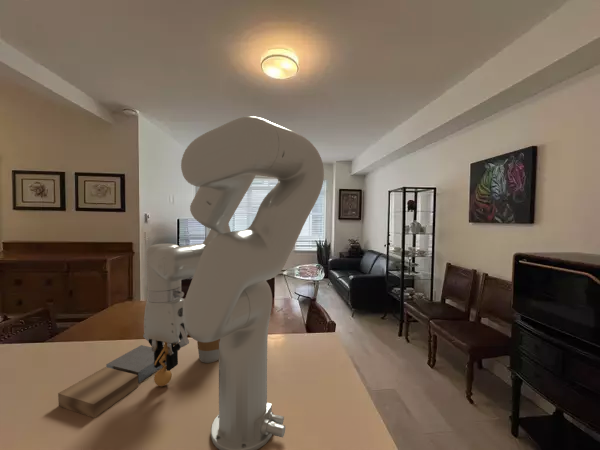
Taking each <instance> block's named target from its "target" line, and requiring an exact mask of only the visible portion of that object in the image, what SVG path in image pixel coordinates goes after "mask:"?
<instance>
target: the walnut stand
mask: <svg viewBox="0 0 600 450" xmlns="http://www.w3.org/2000/svg"><path fill="white" fill-rule="evenodd" d="M137 388H139V383H138V375H136V374H132V373H128V372H124V371H120V370H116V369H112V368H108V367H106V366H105V367H103V368H101V369H99V370H98V371H97V370H96V372H94V373H92V374H90V375H87V377H85V378H83V379H81V380H79V381H78V382H76V383H74V384H72V385H71V386H69V387H67V388H65V389H63V390H62V391H60V392H58V393H57V395H58V396H57V397H58V407H60V408H63V409H66V410H70V411H73V412H76V413H78V414H82V415H84V416H87V417H90V418H96V417H98V416H99V415H100V414H102V413H104V411H106V410H107V409H109V408H111V407H112V406H113V405H115V404H116V403H117V402H118V401H121V400H122V399H123V398H124V397H126V396H127V395H128V394H130V393H132V392H133V391H134V390H136V389H137Z"/></svg>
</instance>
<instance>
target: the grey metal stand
mask: <svg viewBox="0 0 600 450" xmlns="http://www.w3.org/2000/svg"><path fill="white" fill-rule="evenodd" d="M165 366H166V362H165ZM105 367H108V368H112V369H116V370H120V371H124V372H128V373H132V374H136V375H138V384H140V383H142V382H143V381H145V380H146V379H148V378H149V377H151V376H152V375H153V374H156V373H157V371H159V370H160V369H162V368H163V367H164V366H162V365H161V366H159V367H158V368H155V367H154V352H153V351H152V346H147V345H144V344H143V345H142V344H141V345H139V346H137V347H135V348H134V349H132V350H130V351H128V352H126V353H124V354H122V355H121V356H119V357H117V358H115V359H113V360H111V361H109V362H108V363H106V365H105Z"/></svg>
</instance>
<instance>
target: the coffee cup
mask: <svg viewBox="0 0 600 450" xmlns="http://www.w3.org/2000/svg"><path fill="white" fill-rule="evenodd" d="M196 342H197V349H198V359H199V360H200V362H202V363H204V364H205V363H206V364H207V363H208V364H209V363H214V362H216V361H219V343H220V339H218V340H216V341H213V342H199V341H196Z"/></svg>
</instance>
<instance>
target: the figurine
mask: <svg viewBox="0 0 600 450" xmlns="http://www.w3.org/2000/svg"><path fill="white" fill-rule="evenodd" d="M163 347H164V348H163V350H162V351H161V353H160V355H159V356H158V358H157V360H156V361H155V364H154V365H156V363H157V361H158V359H159V358H160V357H161V355H162V353H163V352H164V351H165V354H163V356H162V357H161V359H160V360H159V362H160V364H161V365H162V366H163V367H162V368H160V369H159V370H157V371H156V372H155V373H154V377H153V381H154V383H155V385H156V386H158V387H165V386H166V385H168V384H169V383H170V381H171V380H172V371H171V370H170V371H167V369H166V365H165V363H163V361H164V360H165V361H166V355H167V354H168V346H167V342H164V346H163ZM173 347H174V343H173Z"/></svg>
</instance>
